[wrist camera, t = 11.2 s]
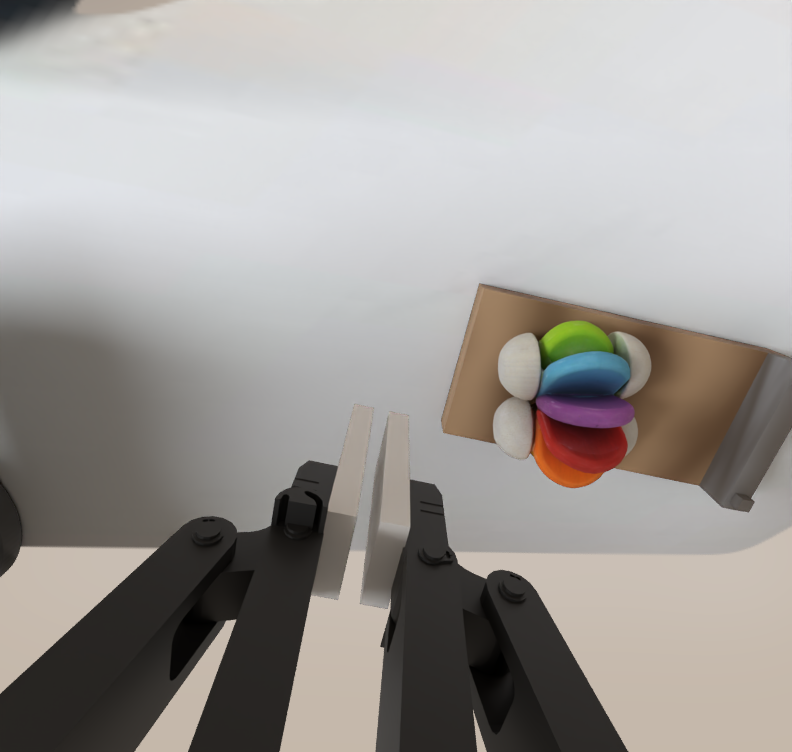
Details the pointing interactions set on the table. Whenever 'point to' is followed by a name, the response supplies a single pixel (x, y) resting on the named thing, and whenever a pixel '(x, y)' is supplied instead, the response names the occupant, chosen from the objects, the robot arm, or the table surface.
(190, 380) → the table surface
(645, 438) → the wooden display stand
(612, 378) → the rainbow wooden ball puzzle
